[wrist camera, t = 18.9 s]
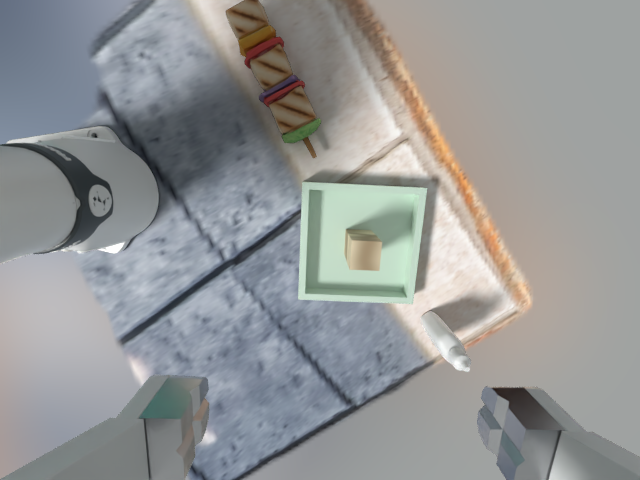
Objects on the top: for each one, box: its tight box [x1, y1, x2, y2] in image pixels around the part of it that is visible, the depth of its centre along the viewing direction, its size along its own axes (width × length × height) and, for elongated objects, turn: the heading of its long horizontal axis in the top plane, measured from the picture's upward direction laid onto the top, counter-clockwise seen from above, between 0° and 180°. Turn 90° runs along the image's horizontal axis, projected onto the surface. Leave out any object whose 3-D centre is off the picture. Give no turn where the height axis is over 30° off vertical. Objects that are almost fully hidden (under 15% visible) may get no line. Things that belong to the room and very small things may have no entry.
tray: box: [298, 181, 427, 304], centre depth 47 cm, size 18×18×3 cm
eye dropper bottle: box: [421, 311, 471, 372], centre depth 46 cm, size 4×6×12 cm
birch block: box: [344, 229, 382, 271], centre depth 44 cm, size 4×4×8 cm
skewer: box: [226, 0, 321, 158], centre depth 41 cm, size 21×6×5 cm, turn 27°
